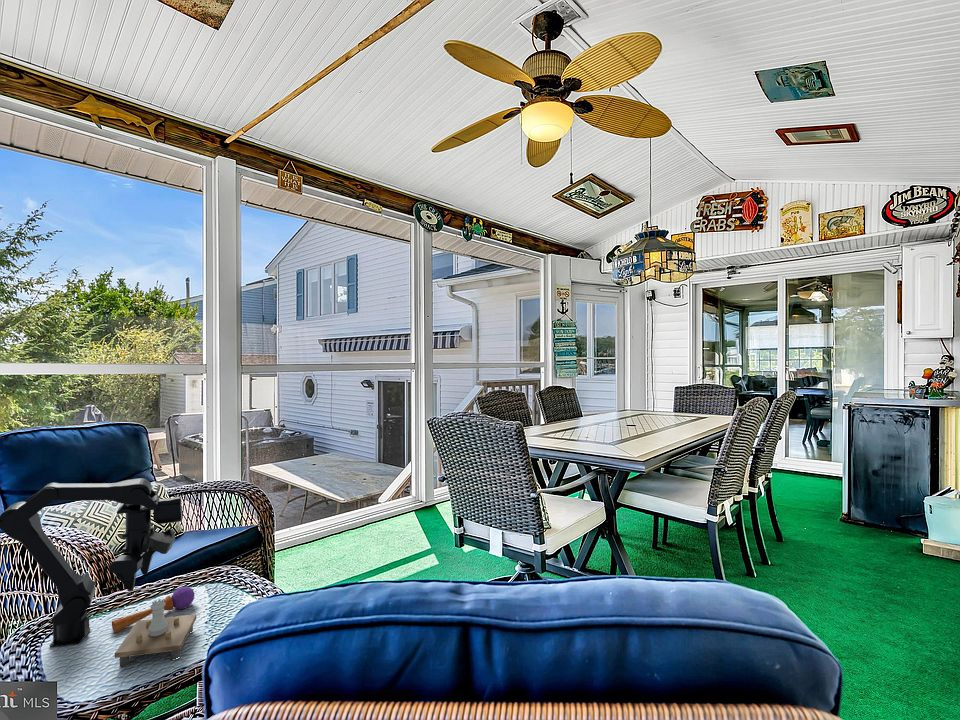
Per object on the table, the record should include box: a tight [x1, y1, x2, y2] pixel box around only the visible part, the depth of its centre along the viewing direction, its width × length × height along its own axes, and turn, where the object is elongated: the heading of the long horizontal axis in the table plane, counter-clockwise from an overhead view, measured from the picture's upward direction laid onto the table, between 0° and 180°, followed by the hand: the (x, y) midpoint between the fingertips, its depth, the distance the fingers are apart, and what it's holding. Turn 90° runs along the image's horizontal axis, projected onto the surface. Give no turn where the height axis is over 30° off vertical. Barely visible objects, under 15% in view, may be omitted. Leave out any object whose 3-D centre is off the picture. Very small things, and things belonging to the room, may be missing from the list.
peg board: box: [114, 613, 197, 668], centre depth 128 cm, size 14×14×6 cm
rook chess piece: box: [148, 599, 168, 637], centre depth 128 cm, size 4×4×8 cm
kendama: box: [111, 586, 195, 634], centre depth 142 cm, size 6×6×20 cm
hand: (138, 582), depth 137 cm, fingers open, 9 cm apart
